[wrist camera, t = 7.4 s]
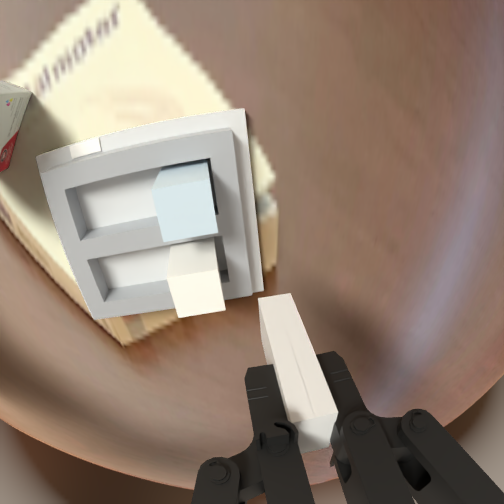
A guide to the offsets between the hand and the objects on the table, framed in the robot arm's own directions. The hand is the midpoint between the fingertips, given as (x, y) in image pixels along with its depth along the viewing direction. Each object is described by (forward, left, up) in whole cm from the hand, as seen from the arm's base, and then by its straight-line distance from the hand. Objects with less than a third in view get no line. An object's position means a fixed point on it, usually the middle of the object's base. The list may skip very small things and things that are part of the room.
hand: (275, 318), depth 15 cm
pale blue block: (-4, +3, -16) cm, 17 cm away
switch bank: (-8, -1, -18) cm, 19 cm away
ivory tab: (-4, -4, -16) cm, 18 cm away
